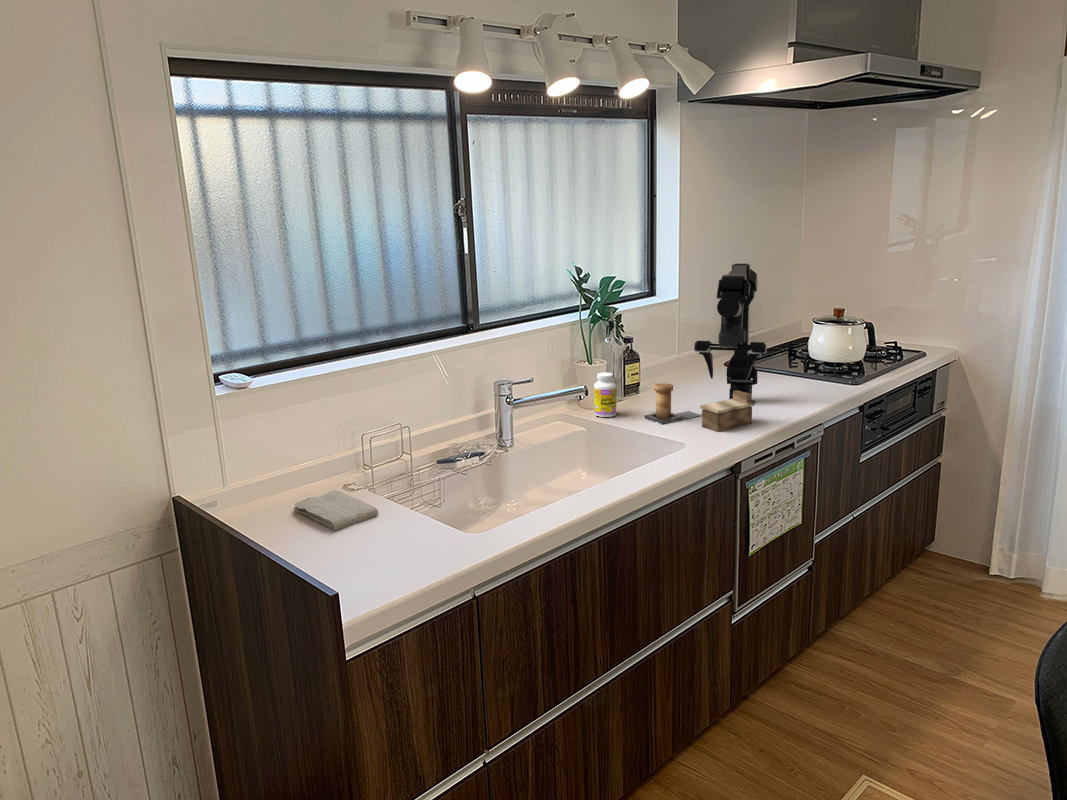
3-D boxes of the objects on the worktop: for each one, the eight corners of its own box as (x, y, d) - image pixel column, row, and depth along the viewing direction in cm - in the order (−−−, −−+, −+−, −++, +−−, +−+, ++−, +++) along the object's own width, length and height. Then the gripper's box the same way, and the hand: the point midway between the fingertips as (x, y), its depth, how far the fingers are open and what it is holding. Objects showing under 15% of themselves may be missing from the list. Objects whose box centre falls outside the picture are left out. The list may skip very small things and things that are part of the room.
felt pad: (688, 411, 252) (688, 410, 252) (702, 416, 247) (702, 415, 247) (673, 415, 249) (673, 414, 249) (686, 419, 244) (686, 418, 244)
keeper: (665, 413, 251) (665, 410, 250) (682, 419, 244) (682, 416, 244) (644, 418, 247) (644, 415, 246) (661, 424, 240) (661, 421, 240)
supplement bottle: (598, 419, 248) (598, 377, 244) (591, 413, 254) (590, 372, 251) (619, 416, 249) (619, 375, 246) (611, 411, 256) (611, 370, 252)
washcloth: (335, 498, 193) (334, 485, 193) (381, 517, 181) (380, 503, 180) (290, 513, 185) (288, 500, 184) (334, 534, 173) (333, 520, 172)
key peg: (664, 415, 249) (664, 382, 246) (677, 419, 244) (677, 385, 242) (650, 418, 246) (649, 385, 244) (662, 422, 242) (662, 388, 239)
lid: (736, 400, 242) (736, 389, 241) (754, 405, 236) (754, 394, 235) (700, 408, 235) (700, 397, 234) (717, 413, 229) (718, 402, 228)
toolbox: (735, 418, 243) (736, 402, 241) (751, 423, 237) (752, 406, 236) (701, 426, 236) (702, 409, 235) (717, 431, 231) (717, 414, 230)
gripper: (692, 318, 220) (689, 377, 221) (765, 319, 214) (762, 379, 214) (698, 322, 231) (695, 378, 231) (768, 323, 225) (765, 380, 225)
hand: (728, 379), depth 225 cm, fingers open, 9 cm apart
